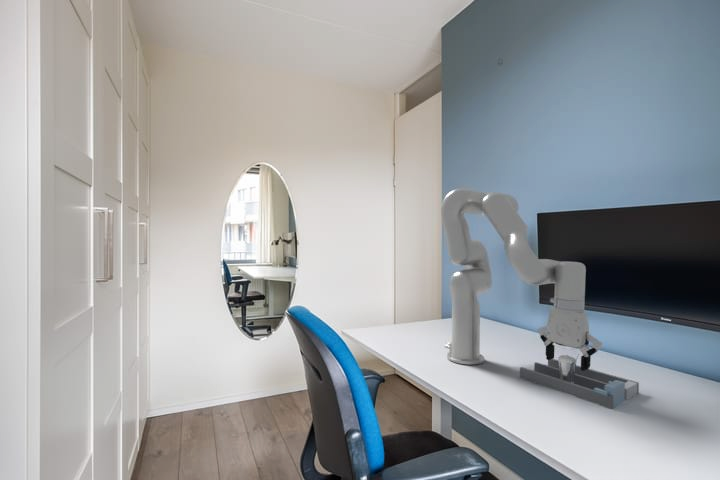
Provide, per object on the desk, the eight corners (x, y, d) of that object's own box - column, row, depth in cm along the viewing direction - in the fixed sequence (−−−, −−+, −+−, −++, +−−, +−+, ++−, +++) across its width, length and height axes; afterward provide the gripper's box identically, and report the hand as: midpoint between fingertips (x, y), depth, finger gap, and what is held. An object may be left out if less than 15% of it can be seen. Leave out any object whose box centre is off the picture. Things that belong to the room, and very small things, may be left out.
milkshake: (582, 391, 102) (582, 356, 102) (561, 390, 103) (561, 354, 103) (575, 385, 107) (576, 351, 107) (555, 383, 108) (556, 350, 108)
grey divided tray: (519, 377, 113) (519, 361, 113) (549, 366, 122) (549, 351, 122) (611, 408, 92) (611, 389, 92) (638, 393, 102) (638, 375, 102)
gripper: (532, 300, 110) (530, 357, 111) (595, 312, 96) (593, 377, 96) (546, 298, 114) (544, 353, 115) (608, 309, 100) (606, 371, 100)
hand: (566, 364), depth 105 cm, fingers open, 9 cm apart
